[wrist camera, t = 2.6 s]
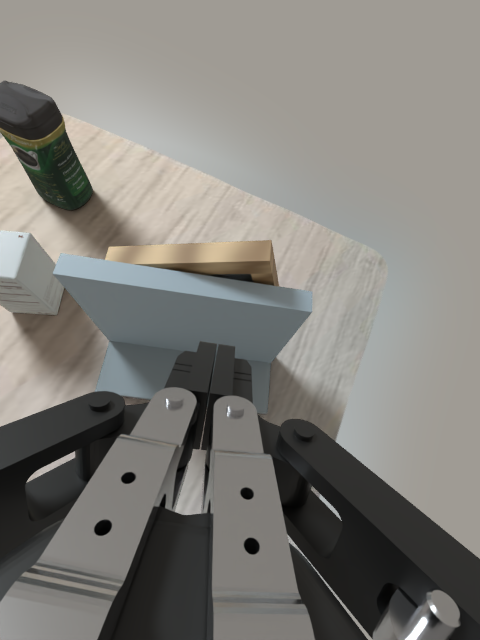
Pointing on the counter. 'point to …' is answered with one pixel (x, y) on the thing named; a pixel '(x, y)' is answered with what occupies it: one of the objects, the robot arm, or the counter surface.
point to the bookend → (179, 320)
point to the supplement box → (27, 276)
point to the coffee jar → (43, 145)
